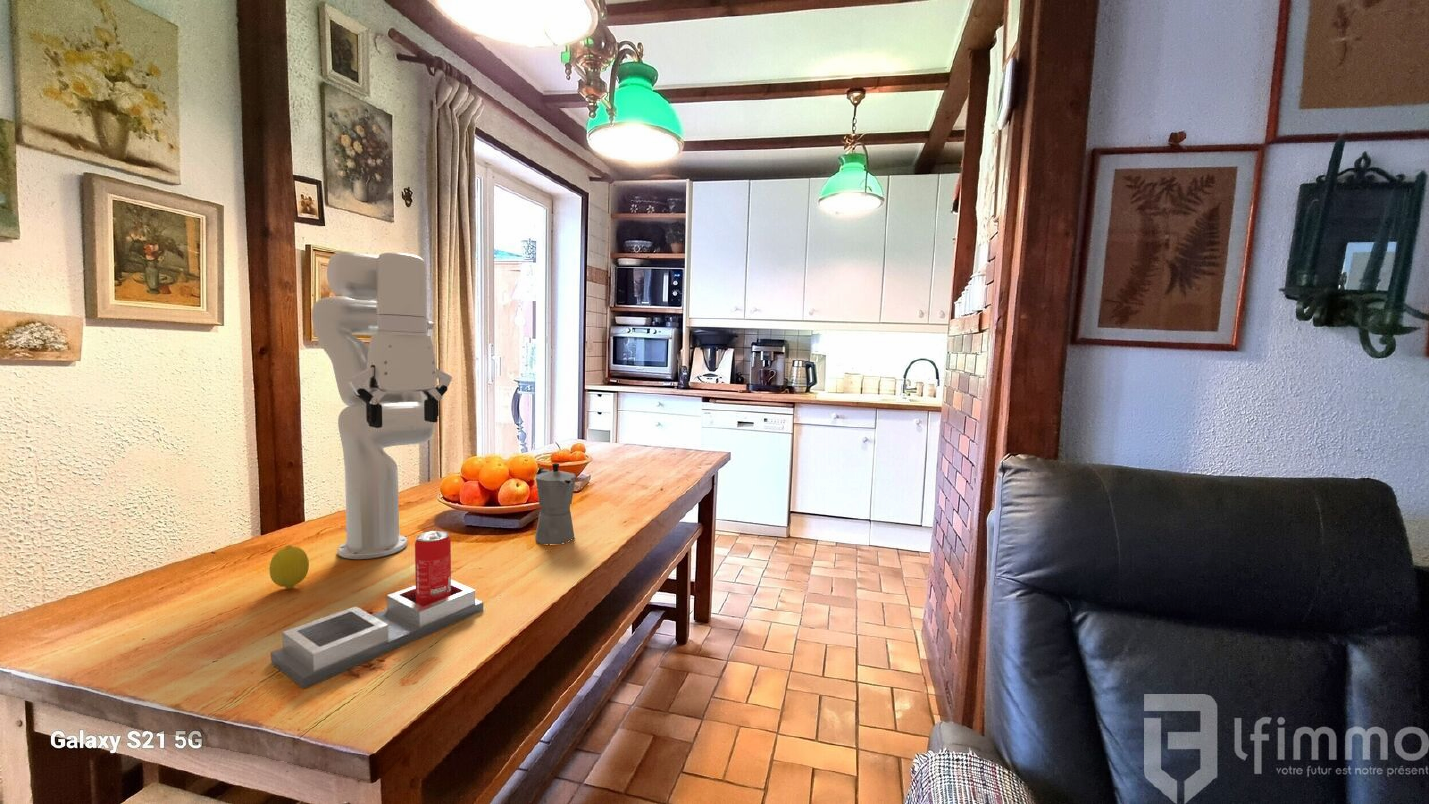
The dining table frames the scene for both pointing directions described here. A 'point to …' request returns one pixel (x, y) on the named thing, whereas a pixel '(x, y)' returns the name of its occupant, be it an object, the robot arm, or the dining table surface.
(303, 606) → the dining table surface
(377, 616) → the socket rail
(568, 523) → the coffeepot
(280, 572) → the lemon
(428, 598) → the beverage can
